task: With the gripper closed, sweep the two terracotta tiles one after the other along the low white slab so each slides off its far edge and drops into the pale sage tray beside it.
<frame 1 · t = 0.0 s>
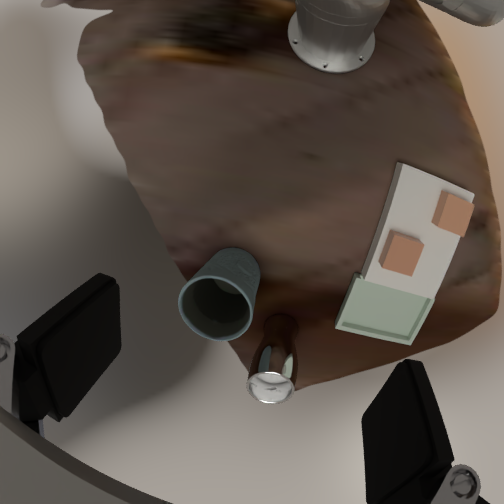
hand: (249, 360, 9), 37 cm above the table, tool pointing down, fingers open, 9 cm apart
beer glass: (281, 327, 52), on the table
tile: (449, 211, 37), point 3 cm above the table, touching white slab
white slab: (416, 231, 41), on the table
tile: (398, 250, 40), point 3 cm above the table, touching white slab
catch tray: (384, 308, 47), on the table
grey cup: (234, 272, 50), on the table
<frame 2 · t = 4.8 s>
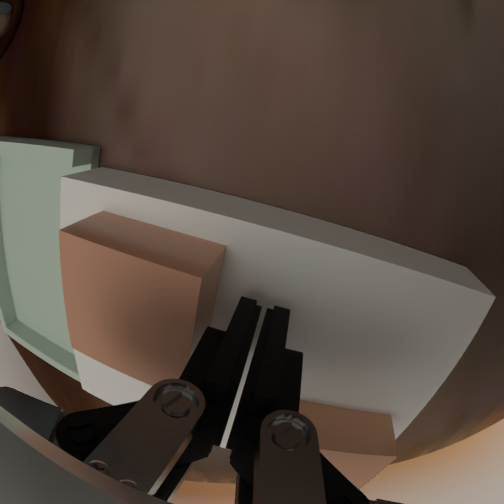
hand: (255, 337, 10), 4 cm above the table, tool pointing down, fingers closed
beer glass: (1, 30, 11), on the table
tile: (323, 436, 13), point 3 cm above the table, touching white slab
white slab: (251, 335, 15), on the table
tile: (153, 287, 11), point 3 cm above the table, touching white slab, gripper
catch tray: (41, 257, 16), on the table
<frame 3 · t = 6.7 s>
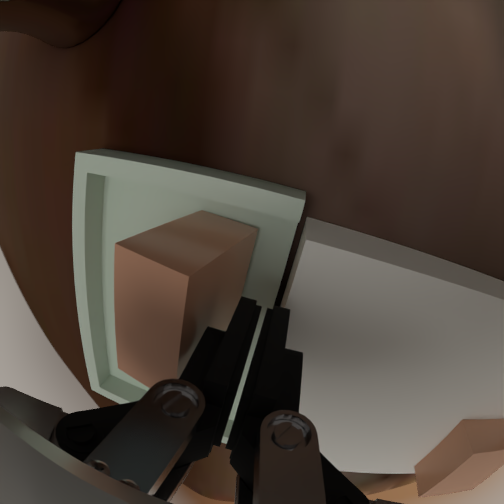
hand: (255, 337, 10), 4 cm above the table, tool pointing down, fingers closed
beer glass: (85, 2, 10), on the table
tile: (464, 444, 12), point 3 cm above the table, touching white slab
white slab: (421, 373, 14), on the table
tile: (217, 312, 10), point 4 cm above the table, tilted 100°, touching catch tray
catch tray: (172, 311, 15), on the table
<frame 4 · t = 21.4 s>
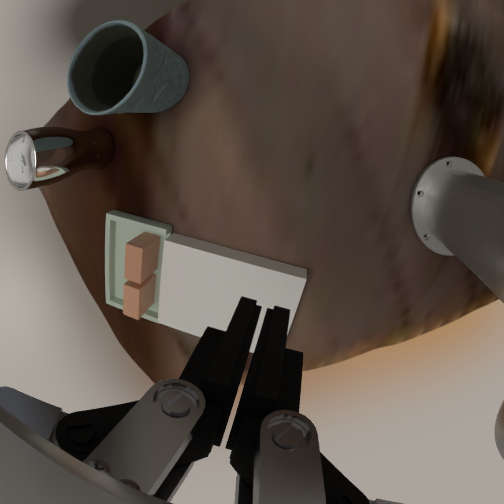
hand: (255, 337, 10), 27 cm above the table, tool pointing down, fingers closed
beer glass: (99, 148, 37), on the table
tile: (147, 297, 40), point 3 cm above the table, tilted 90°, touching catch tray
white slab: (229, 293, 41), on the table
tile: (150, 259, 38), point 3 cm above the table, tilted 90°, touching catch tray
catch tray: (138, 265, 42), on the table
grey cup: (158, 82, 33), on the table
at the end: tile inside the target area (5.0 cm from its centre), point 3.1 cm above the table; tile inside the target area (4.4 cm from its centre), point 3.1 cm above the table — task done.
